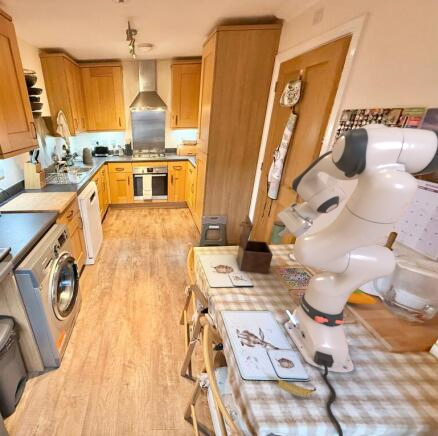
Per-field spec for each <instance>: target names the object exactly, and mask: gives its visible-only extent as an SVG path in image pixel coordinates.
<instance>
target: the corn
mask: <svg viewBox="0 0 438 436" xmlns="http://www.w3.org/2000/svg"><path fill="white" fill-rule="evenodd" d="M377 303H378V301H377V300H376V299H375V298H373V297H372V296H370V295H369V294H365V293H363V291H362V290H360V289H356V290H355V291H354V292H353V293H352V294H351V295H350V297H349V298H348V300H347V302H346V304H345V305H352V306H355V305H375V304H377Z"/></svg>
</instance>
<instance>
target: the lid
mask: <svg viewBox="0 0 438 436" xmlns="http://www.w3.org/2000/svg"><path fill="white" fill-rule="evenodd" d="M238 225H239V227H240V228H242V229H241V233H240V236H239V243H240V242H241V246H242V249H243V251H245V248H246V245H247V242H248V240H249V239H250V236H251V233H252V231H253V227H254V225H253V222H252V220H251V218H250V215H249V214H247V215H246V216H245V219H244V220H243V219H238Z"/></svg>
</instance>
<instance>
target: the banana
mask: <svg viewBox="0 0 438 436" xmlns="http://www.w3.org/2000/svg"><path fill="white" fill-rule="evenodd" d="M276 383H277V385H278V386H279V387H280V388H281V389H282V390H283V391H285V392H286V393H289V394H291V395H294V396H296V397H301V398H309V397H311V395H313V393H314V392H316V391H317V388H316V386H314V388H313V389H307V388H303V387H300V386H297V385H294V384H292V383H289V382H288V381H285V380H282V379H277V382H276Z"/></svg>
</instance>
